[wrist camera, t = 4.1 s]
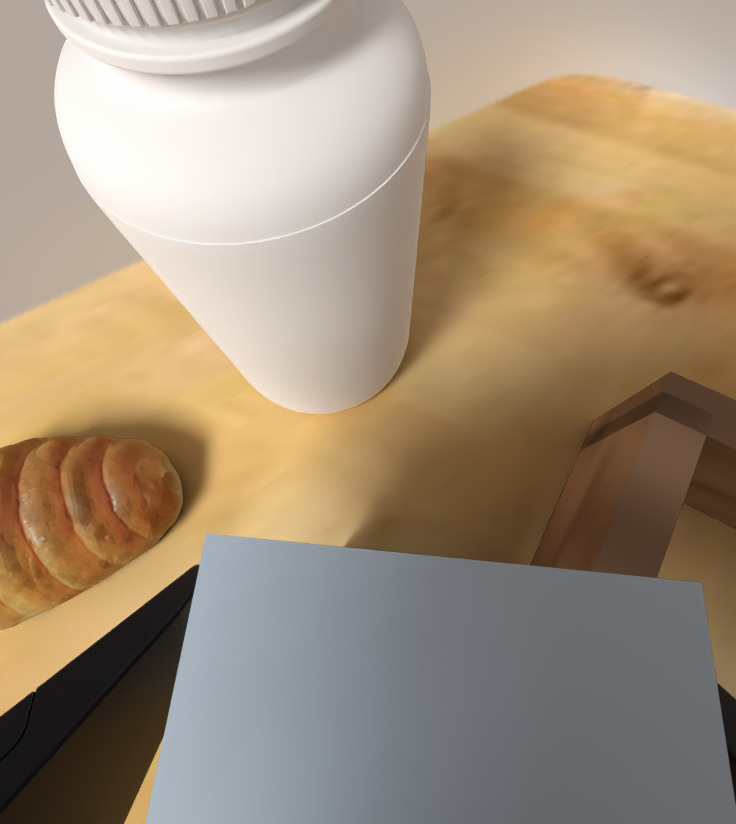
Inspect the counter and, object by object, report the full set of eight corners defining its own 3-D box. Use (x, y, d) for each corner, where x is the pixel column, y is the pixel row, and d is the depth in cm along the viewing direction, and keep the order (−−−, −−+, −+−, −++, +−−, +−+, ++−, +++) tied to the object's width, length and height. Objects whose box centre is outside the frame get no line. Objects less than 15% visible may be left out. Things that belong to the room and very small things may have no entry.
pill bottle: (204, 348, 19) (-295, -208, 5) (321, 242, 21) (188, -395, 7) (324, 457, 17) (53, 46, 3) (443, 330, 19) (607, -305, 5)
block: (455, 692, 14) (841, 1495, 2) (329, 677, 15) (45, 1302, 2) (458, 558, 16) (702, 583, 4) (343, 546, 16) (207, 532, 4)
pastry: (175, 412, 19) (124, 379, 15) (205, 561, 17) (155, 564, 13) (-33, 480, 18) (-139, 464, 14) (-29, 644, 16) (-151, 673, 12)
